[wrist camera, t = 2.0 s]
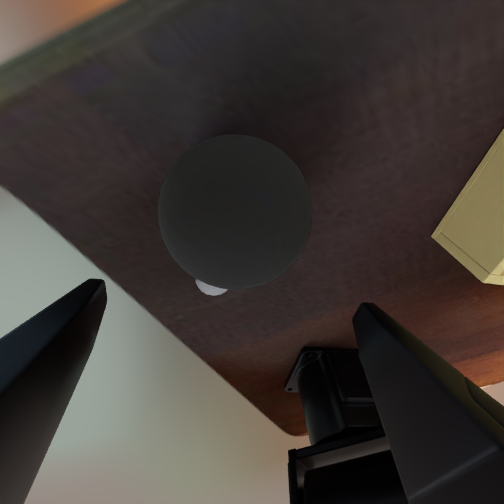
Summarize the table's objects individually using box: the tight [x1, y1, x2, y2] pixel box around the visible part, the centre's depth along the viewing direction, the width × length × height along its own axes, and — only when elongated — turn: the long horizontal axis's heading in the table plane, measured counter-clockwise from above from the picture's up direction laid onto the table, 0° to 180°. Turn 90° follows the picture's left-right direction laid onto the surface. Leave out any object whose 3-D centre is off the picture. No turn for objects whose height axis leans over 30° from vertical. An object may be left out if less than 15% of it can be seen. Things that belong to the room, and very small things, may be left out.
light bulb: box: [158, 134, 312, 295], centre depth 13 cm, size 6×6×10 cm
